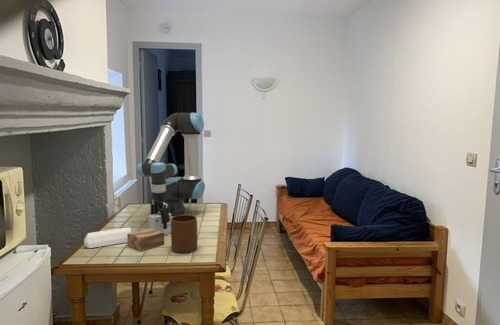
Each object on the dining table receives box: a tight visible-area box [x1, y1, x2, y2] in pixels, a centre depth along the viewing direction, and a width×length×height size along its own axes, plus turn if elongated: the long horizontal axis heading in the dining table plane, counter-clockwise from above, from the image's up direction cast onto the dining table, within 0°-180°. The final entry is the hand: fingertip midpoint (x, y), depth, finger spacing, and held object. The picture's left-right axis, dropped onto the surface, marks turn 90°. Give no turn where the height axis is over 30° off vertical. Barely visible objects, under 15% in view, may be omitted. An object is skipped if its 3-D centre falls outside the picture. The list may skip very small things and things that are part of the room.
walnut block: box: [127, 227, 165, 252], centre depth 189 cm, size 12×13×6 cm
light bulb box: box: [147, 212, 172, 235], centre depth 207 cm, size 11×7×11 cm, turn 135°
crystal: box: [83, 227, 133, 249], centre depth 192 cm, size 7×7×24 cm
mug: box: [170, 212, 198, 254], centre depth 187 cm, size 20×12×15 cm, turn 3°
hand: (160, 232), depth 207 cm, fingers open, 7 cm apart
